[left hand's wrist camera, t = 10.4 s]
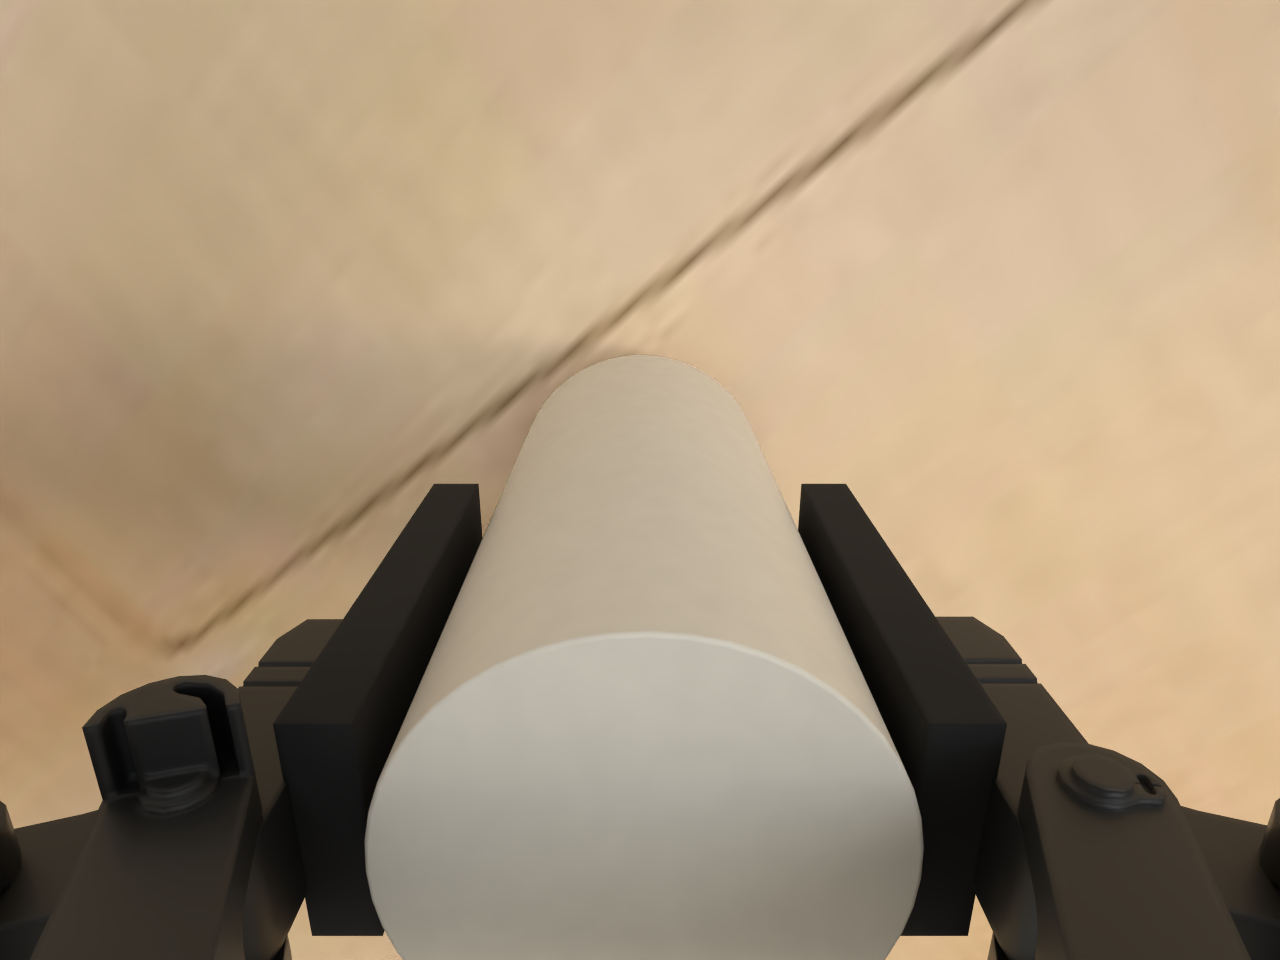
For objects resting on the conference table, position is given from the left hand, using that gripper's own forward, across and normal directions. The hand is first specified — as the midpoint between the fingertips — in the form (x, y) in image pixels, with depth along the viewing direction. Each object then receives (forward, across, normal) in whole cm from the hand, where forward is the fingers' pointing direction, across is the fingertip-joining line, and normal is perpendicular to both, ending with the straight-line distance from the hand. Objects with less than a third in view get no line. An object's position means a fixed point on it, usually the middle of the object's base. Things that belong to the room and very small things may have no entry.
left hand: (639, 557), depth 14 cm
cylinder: (+5, 0, 0) cm, 5 cm away
